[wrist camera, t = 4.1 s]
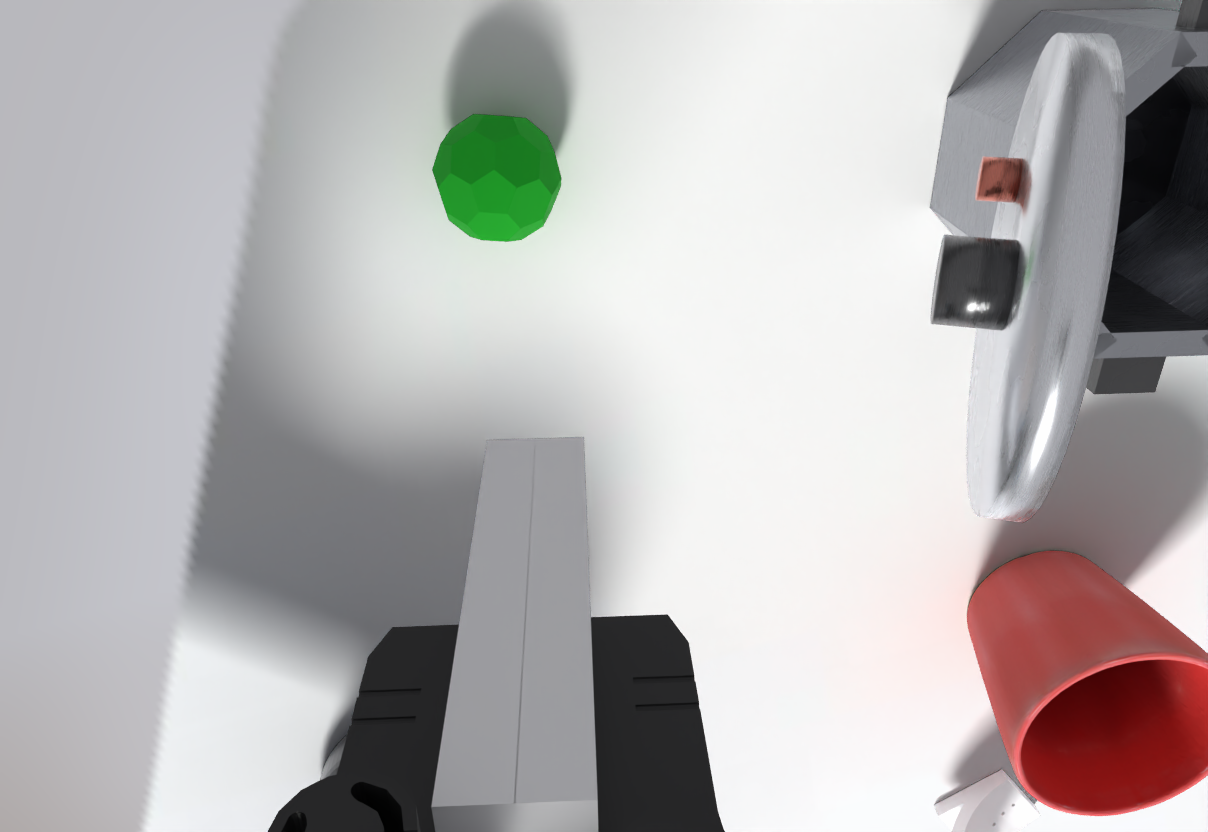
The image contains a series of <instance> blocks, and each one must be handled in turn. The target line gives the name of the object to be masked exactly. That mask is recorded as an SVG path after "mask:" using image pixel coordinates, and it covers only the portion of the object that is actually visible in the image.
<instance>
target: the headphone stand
mask: <svg viewBox="0 0 1208 832" xmlns="http://www.w3.org/2000/svg"><path fill="white" fill-rule="evenodd" d="M934 807H935V809H936V812H937V814H938V816H939V817H940V818H941V819H942V820H943V821H944V822H945V823H946V824H947V825H948V826H949V827H950V828H951V829H952V832H1019V831H1020V830H1021V829H1022V828H1024V827H1025V826H1026V825H1027V824H1029V823H1030V822H1031V821H1033V820H1034V819H1036V818H1038V817H1040V814H1039V812H1038V810H1037V808H1036V806H1035V805H1034V804H1033V802H1032V801H1031V800H1030V799H1029V798H1028V797H1027V796H1026V795H1025V794H1024V793H1023V792H1022V790H1021V789H1020V788H1019V787H1018V786H1017V785H1016V784H1015V783H1014V782H1013V781H1012V779H1011V778H1010V777H1009V776H1008V775H1007V774H1006V773H1005V772H1004V771H1003V770H1002V769H1001V770H999V771H998V772H996V773H994V774H992V775H990V776H988V777H986V778H984V779H982V780H980V781H979V782H977V783H975V784H973V785H971V786H969V787H967V788H965V789H963V790H961V791H960V792H958V793H956V794H954V795H952V796H950V797H948V798H946V799H944V800H942V801H941V802H939V803H937V804H935V805H934Z"/></svg>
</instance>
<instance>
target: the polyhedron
mask: <svg viewBox="0 0 1208 832" xmlns="http://www.w3.org/2000/svg"><path fill="white" fill-rule="evenodd" d="M432 171H433V174H434V177H435V180H436V183H437V186H438V189H439V192H440V195H441V198H442V201H443V204H444V207H445V210H446V213H447V216H448V219H449V221H451V222H452V223H453V224H455V225H456V226H457V227H458V228H460V229H461V230H462V231H464V232H465V233H466V234H467V235H469V236H470V237H473V238H477V239H480V240H490V241H505V242H508V241H516V240H522V239H523V238H525V237H527V236H528V235H530V234H531V233H533V232H535V231H536V230H538V229H539V228H541V227H543V225H544V223H545V221H546V220H547V218H548V216H549V214H550V212H551V210H552V208H553V205H554V203H555V200H556V197H557V195H558V192H559V190H560V187H561V175H560V171H559V167H558V164H557V160H556V156H555V152H554V150H553V148H552V145H551V143H550V141H549V139H548V136H547V135H546V134H544V133H543V132H542V131H541V130H540V129H538V128H537V127H536V126H535V125H534V124H533V123H531V122H530V121H529V120H528V119H527V118H520V117H510V116H496V115H482V114H473V115H471V116H470V117H468V118H467V119H465V120H464V121H462V122H461V123H459V124H458V125H456V126H455V127H453V128H452V129H451V130H450V131H449V133H448V134H447V135H446V137H445V138H444V140H443V141H442V143H441V144H440V147H439V150H438V153H437V156H436V160H435V163H434V166H433V169H432Z"/></svg>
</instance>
